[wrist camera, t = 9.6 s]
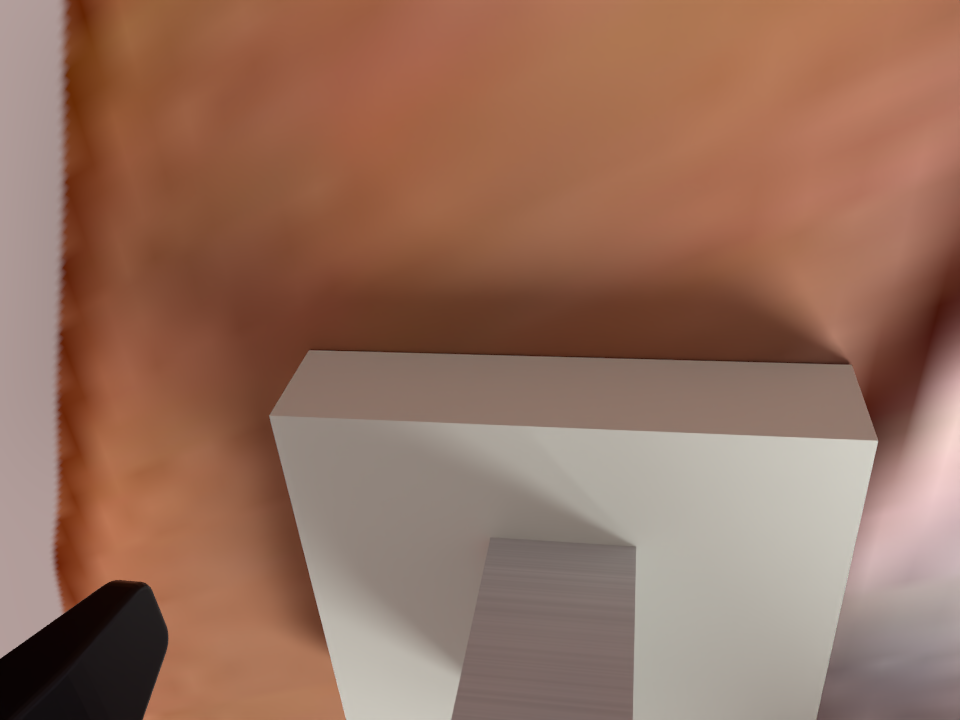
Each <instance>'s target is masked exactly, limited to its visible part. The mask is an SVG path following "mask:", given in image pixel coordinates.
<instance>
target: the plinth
mask: <svg viewBox="0 0 960 720" xmlns="http://www.w3.org/2000/svg"><path fill="white" fill-rule="evenodd" d="M269 417H270V421H271V425H272V429H273V433H274V437H275V441H276V445H277V449H278V453H279V457H280V461H281V465H282V469H283V473H284V476H285V480H286V484H287V488H288V492H289V496H290V500H291V504H292V508H293V512H294V516H295V520H296V524H297V528H298V532H299V536H300V539H301V543H302V547H303V551H304V555H305V559H306V563H307V567H308V571H309V575H310V579H311V583H312V587H313V591H314V595H315V599H316V603H317V606H318V610H319V614H320V618H321V622H322V626H323V630H324V634H325V638H326V642H327V646H328V650H329V654H330V658H331V662H332V666H333V669H334V673H335V677H336V681H337V685H338V689H339V693H340V697H341V701H342V705H343V709H344V713H345V717H346V720H451V718H452V713H453V709H454V704H455V700H456V695H457V690H458V686H459V681H460V676H461V672H462V667H463V662H464V658H465V653H466V648H467V644H468V639H469V634H470V630H471V625H472V620H473V616H474V611H475V606H476V602H477V597H478V592H479V588H480V583H481V578H482V574H483V569H484V564H485V560H486V555H487V551H488V546H489V541H490V537H492V538H508V539H523V540H539V541H555V542H570V543H586V544H601V545H617V546H633V547H636V582H635V633H634V683H633V720H816V719H817V714H818V710H819V705H820V701H821V696H822V692H823V687H824V683H825V678H826V674H827V669H828V665H829V660H830V656H831V651H832V647H833V642H834V638H835V633H836V629H837V624H838V620H839V615H840V610H841V606H842V601H843V597H844V592H845V588H846V583H847V579H848V574H849V570H850V565H851V561H852V556H853V552H854V547H855V543H856V538H857V534H858V529H859V525H860V520H861V516H862V511H863V507H864V502H865V498H866V493H867V489H868V484H869V480H870V475H871V471H872V466H873V462H874V457H875V453H876V448H877V444H878V439H877V436H876V433H875V430H874V428H873V425H872V422H871V419H870V416H869V413H868V410H867V407H866V405H865V402H864V399H863V396H862V393H861V390H860V387H859V384H858V382H857V379H856V376H855V373H854V370H853V367H852V365H841V364H804V363H767V362H729V361H692V360H655V359H618V358H581V357H544V356H506V355H469V354H432V353H395V352H358V351H321V350H309V351H308V353H307V354H306V356H305V357H304V359H303V361H302V362H301V364H300V366H299V367H298V369H297V371H296V372H295V374H294V375H293V377H292V379H291V380H290V382H289V384H288V385H287V387H286V389H285V390H284V392H283V394H282V395H281V397H280V398H279V400H278V402H277V403H276V405H275V407H274V408H273V410H272V412H271V413H270V415H269Z"/></svg>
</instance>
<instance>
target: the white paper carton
mask: <svg viewBox="0 0 960 720" xmlns="http://www.w3.org/2000/svg"><path fill="white" fill-rule="evenodd" d="M635 582H636V547H633V546H617V545H601V544H586V543H570V542H555V541H539V540H523V539H508V538H492V537H490V541H489V546H488V551H487V555H486V560H485V564H484V569H483V574H482V578H481V583H480V588H479V592H478V597H477V602H476V606H475V611H474V616H473V620H472V625H471V630H470V634H469V639H468V644H467V648H466V653H465V658H464V662H463V667H462V672H461V676H460V681H459V686H458V690H457V695H456V700H455V704H454V709H453V713H452V718H451V720H633V683H634V633H635Z"/></svg>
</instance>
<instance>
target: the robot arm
mask: <svg viewBox="0 0 960 720" xmlns="http://www.w3.org/2000/svg"><path fill="white" fill-rule="evenodd" d="M167 646H168V630H167V626H166V624H165V621H164V619H163V616H162V614H161V611H160V609H159V606H158V604H157V601H156V599H155V596H154V594H153V591H152V589H151V587H149V586H148V585H147V584H146V583H144V582H136V581H123V580H115V581H111V582H109V583H107V584H105V585H104V586H102V587H101V588H99V589H98V590H97V591H95V592H94V593H92V594H91V595H89V596H88V597H87V598H85V599H84V600H82V601H81V602H80V603H78V604H77V605H75V606H74V607H73V608H71V609H70V610H68V611H67V612H66V613H64V614H63V615H61V616H60V617H58V618H57V619H56V620H54V621H53V622H51V623H50V624H49V625H47V626H46V627H44V628H43V629H42V630H40V631H39V632H37V633H36V634H35V635H33V636H32V637H30V638H29V639H28V640H26V641H25V642H23V643H22V644H20V645H19V646H18V647H16V648H15V649H13V650H12V651H11V652H9V653H8V654H6V655H5V656H3V657H2V658H1V659H0V720H143V717H144V714H145V712H146V709H147V706H148V703H149V700H150V697H151V694H152V691H153V689H154V686H155V683H156V680H157V677H158V674H159V671H160V668H161V665H162V663H163V660H164V657H165V654H166V650H167Z"/></svg>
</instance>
